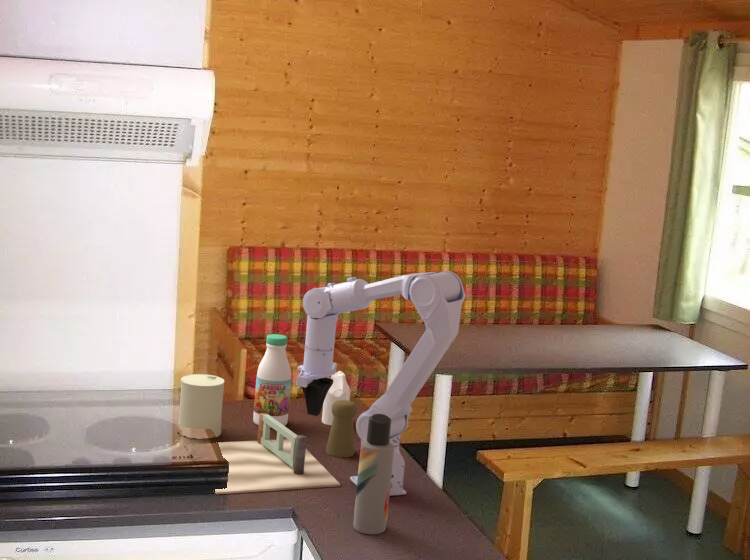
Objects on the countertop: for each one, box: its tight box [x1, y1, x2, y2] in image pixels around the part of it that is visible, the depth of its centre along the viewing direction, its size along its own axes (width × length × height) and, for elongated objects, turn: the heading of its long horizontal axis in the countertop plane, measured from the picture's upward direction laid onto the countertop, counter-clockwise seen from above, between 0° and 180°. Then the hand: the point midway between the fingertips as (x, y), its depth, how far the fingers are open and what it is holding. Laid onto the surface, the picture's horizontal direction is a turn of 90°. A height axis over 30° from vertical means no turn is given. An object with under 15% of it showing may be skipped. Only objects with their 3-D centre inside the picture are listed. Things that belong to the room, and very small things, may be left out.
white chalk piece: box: [321, 370, 351, 426], centre depth 228 cm, size 6×12×6 cm
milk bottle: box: [252, 333, 292, 429], centre depth 222 cm, size 8×8×20 cm
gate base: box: [214, 413, 341, 495], centre depth 196 cm, size 26×24×8 cm
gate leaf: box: [261, 415, 298, 468], centre depth 201 cm, size 15×1×6 cm, turn 31°
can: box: [178, 373, 226, 438], centre depth 212 cm, size 9×9×12 cm
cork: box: [325, 400, 358, 458], centre depth 208 cm, size 6×6×11 cm
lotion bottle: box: [353, 414, 394, 535], centre depth 170 cm, size 6×6×20 cm
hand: (313, 414), depth 198 cm, fingers closed
